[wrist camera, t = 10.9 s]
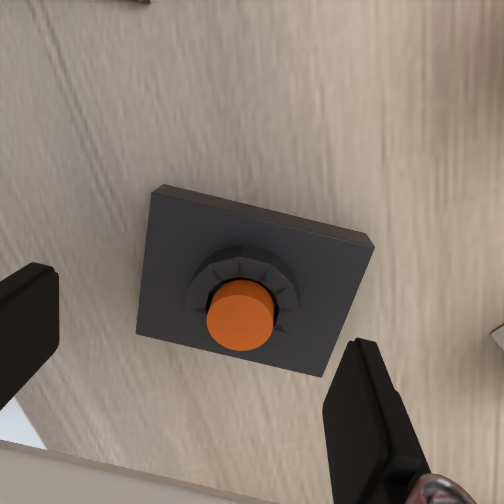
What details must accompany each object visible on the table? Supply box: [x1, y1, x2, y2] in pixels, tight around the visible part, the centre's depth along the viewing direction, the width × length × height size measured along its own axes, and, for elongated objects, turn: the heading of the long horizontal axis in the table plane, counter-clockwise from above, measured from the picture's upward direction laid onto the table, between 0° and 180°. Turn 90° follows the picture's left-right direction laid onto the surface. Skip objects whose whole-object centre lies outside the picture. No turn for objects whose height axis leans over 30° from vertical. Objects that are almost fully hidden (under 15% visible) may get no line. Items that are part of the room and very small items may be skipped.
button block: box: [136, 184, 375, 377], centre depth 22 cm, size 13×10×4 cm
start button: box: [207, 280, 274, 351], centre depth 19 cm, size 4×4×2 cm
